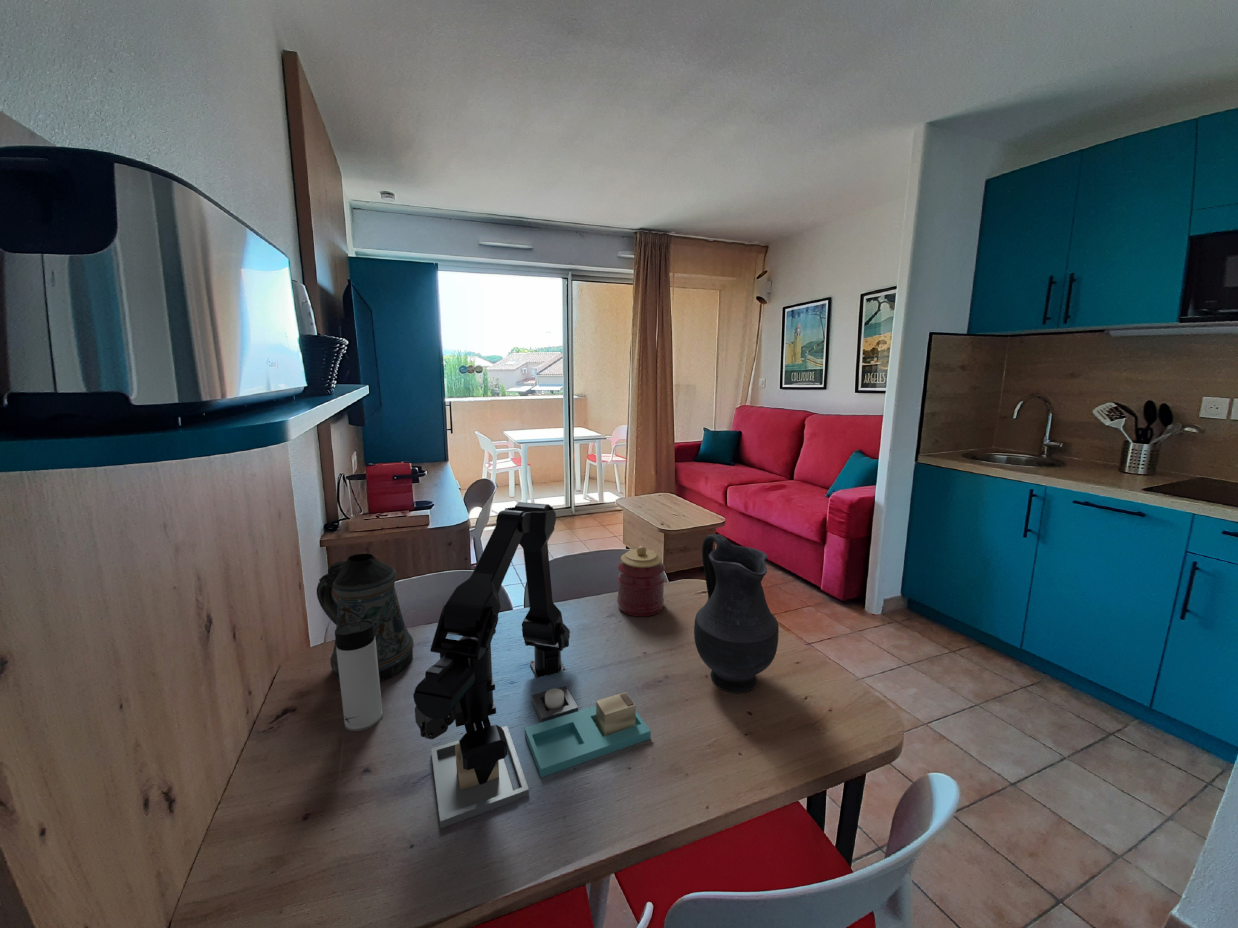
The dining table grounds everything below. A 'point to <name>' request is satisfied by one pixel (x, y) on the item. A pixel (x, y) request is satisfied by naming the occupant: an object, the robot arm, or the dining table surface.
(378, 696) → the travel mug
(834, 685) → the dining table surface
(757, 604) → the pitcher
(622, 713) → the block
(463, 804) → the grey tray
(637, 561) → the canister
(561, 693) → the button
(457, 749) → the block
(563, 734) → the teal block holder tray
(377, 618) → the beer stein
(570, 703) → the button housing
